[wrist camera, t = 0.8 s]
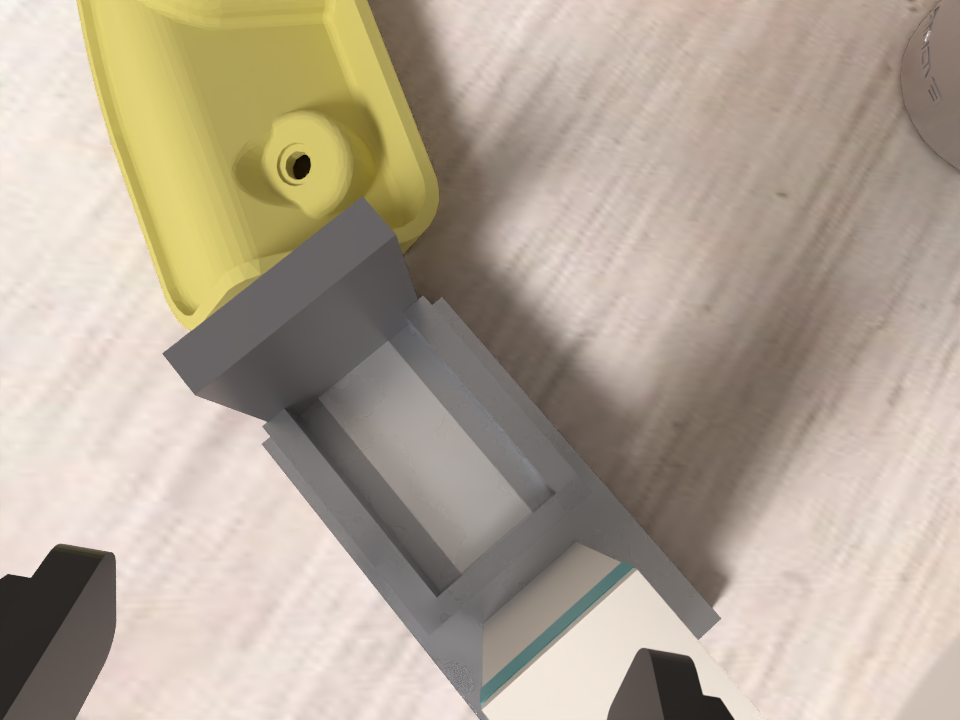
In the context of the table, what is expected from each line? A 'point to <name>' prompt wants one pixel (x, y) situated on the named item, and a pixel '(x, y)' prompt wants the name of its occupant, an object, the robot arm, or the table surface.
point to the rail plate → (456, 489)
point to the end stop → (302, 320)
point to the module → (585, 643)
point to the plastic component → (251, 132)
